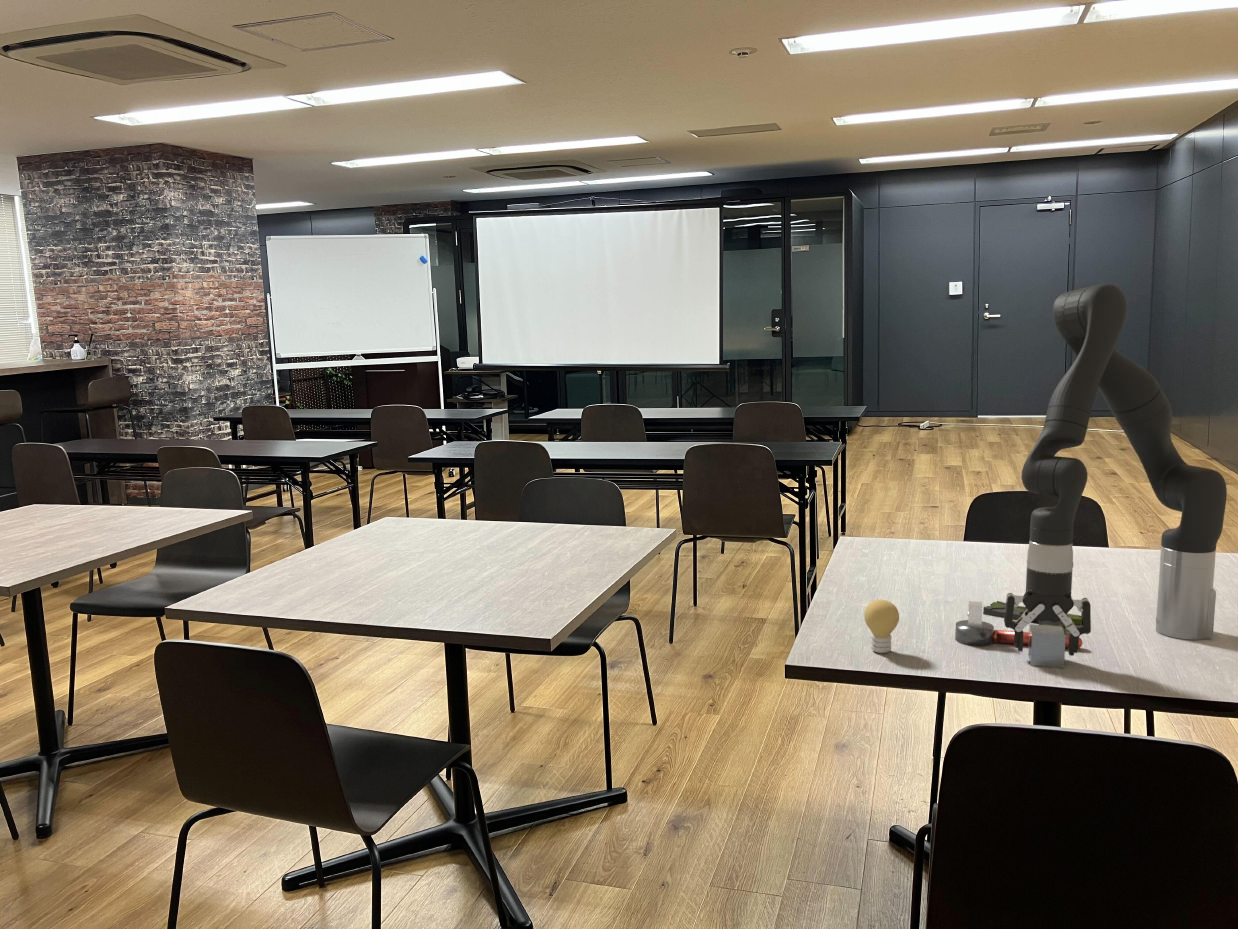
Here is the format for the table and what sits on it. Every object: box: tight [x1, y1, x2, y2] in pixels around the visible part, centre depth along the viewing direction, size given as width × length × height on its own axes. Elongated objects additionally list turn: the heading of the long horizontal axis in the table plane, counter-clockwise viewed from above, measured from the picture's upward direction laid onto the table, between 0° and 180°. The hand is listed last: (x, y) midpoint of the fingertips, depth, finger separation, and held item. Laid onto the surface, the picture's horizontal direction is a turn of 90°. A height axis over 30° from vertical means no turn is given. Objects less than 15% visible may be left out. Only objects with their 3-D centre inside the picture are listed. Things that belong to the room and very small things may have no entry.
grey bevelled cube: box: [1027, 623, 1066, 669], centre depth 173 cm, size 6×6×6 cm
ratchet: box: [954, 600, 1084, 649], centre depth 183 cm, size 23×7×8 cm, turn 71°
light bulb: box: [863, 599, 900, 654], centre depth 180 cm, size 6×6×10 cm
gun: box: [982, 600, 1082, 635], centre depth 196 cm, size 2×19×15 cm
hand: (1045, 652), depth 174 cm, fingers open, 8 cm apart
